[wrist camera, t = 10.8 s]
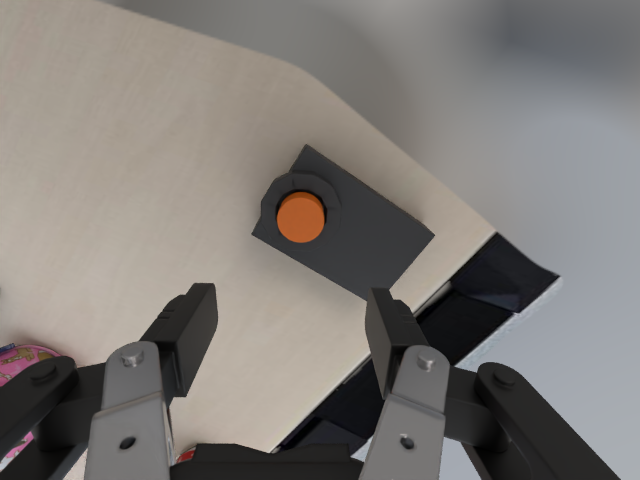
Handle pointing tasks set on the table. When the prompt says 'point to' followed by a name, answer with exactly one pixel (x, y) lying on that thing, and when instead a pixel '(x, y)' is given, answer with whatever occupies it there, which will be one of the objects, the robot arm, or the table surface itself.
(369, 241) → the grey push button box
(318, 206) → the button
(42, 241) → the table surface
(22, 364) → the pencil case
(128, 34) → the table surface
